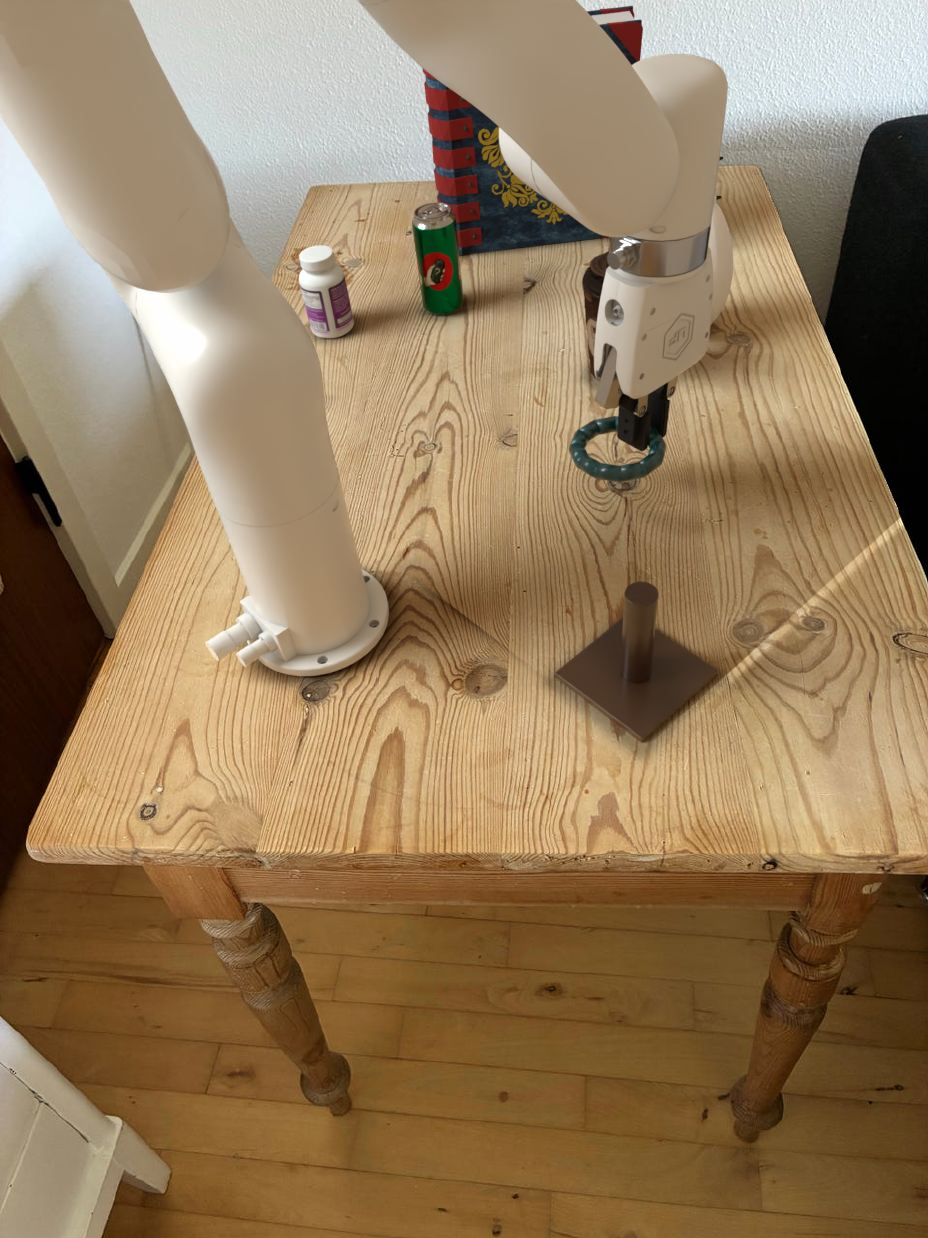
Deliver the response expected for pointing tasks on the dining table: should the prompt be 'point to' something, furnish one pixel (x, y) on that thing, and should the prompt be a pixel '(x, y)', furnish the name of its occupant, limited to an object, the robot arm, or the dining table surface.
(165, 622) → the dining table surface
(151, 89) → the robot arm
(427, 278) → the soda can
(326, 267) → the pill bottle
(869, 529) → the dining table surface
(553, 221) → the book
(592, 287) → the coffee cup
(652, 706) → the peg stand
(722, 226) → the white curved piece
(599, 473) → the ring
